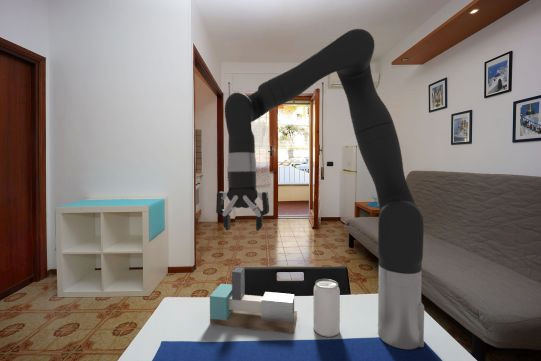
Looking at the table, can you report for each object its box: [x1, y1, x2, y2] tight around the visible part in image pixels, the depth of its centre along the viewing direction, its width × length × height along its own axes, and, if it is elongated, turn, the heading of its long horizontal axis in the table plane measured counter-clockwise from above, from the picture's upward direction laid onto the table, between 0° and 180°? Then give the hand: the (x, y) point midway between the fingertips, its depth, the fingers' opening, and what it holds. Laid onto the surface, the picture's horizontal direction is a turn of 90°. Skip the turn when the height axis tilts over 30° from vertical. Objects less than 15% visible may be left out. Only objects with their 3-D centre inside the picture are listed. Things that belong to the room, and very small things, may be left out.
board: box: [209, 310, 298, 334], centre depth 73 cm, size 22×8×2 cm, turn 79°
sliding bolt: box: [229, 266, 264, 313], centre depth 73 cm, size 14×4×10 cm, turn 79°
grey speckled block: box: [261, 291, 295, 324], centre depth 72 cm, size 8×5×5 cm, turn 79°
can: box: [313, 278, 341, 338], centre depth 68 cm, size 6×6×12 cm
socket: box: [209, 283, 233, 320], centre depth 75 cm, size 4×8×6 cm, turn 169°
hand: (242, 229), depth 74 cm, fingers open, 8 cm apart
